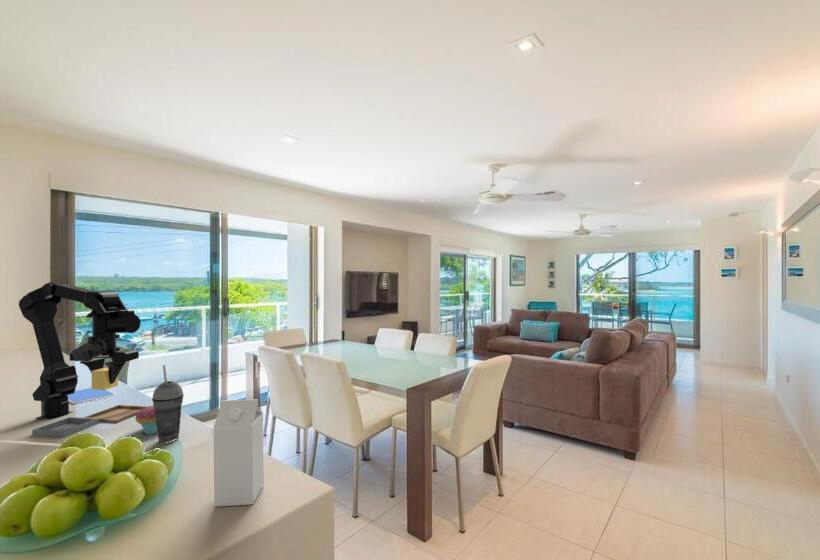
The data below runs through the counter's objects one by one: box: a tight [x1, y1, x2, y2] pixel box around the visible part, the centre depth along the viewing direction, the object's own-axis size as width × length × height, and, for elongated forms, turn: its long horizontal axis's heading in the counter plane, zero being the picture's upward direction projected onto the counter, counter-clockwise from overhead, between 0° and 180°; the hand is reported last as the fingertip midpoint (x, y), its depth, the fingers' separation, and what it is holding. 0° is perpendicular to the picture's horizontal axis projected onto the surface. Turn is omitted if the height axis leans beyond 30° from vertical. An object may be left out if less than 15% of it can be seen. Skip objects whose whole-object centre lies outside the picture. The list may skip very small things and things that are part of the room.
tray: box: [82, 404, 151, 424], centre depth 124 cm, size 12×12×1 cm
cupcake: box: [134, 405, 158, 435], centre depth 111 cm, size 9×8×12 cm
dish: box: [31, 416, 100, 438], centre depth 112 cm, size 10×10×2 cm
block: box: [91, 367, 119, 390], centre depth 120 cm, size 4×4×6 cm
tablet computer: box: [67, 387, 116, 405], centre depth 147 cm, size 19×13×1 cm, turn 53°
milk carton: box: [213, 398, 265, 507], centre depth 78 cm, size 7×7×19 cm
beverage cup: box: [151, 364, 184, 445], centre depth 105 cm, size 7×7×20 cm
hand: (104, 383), depth 120 cm, fingers closed on block, 4 cm apart
